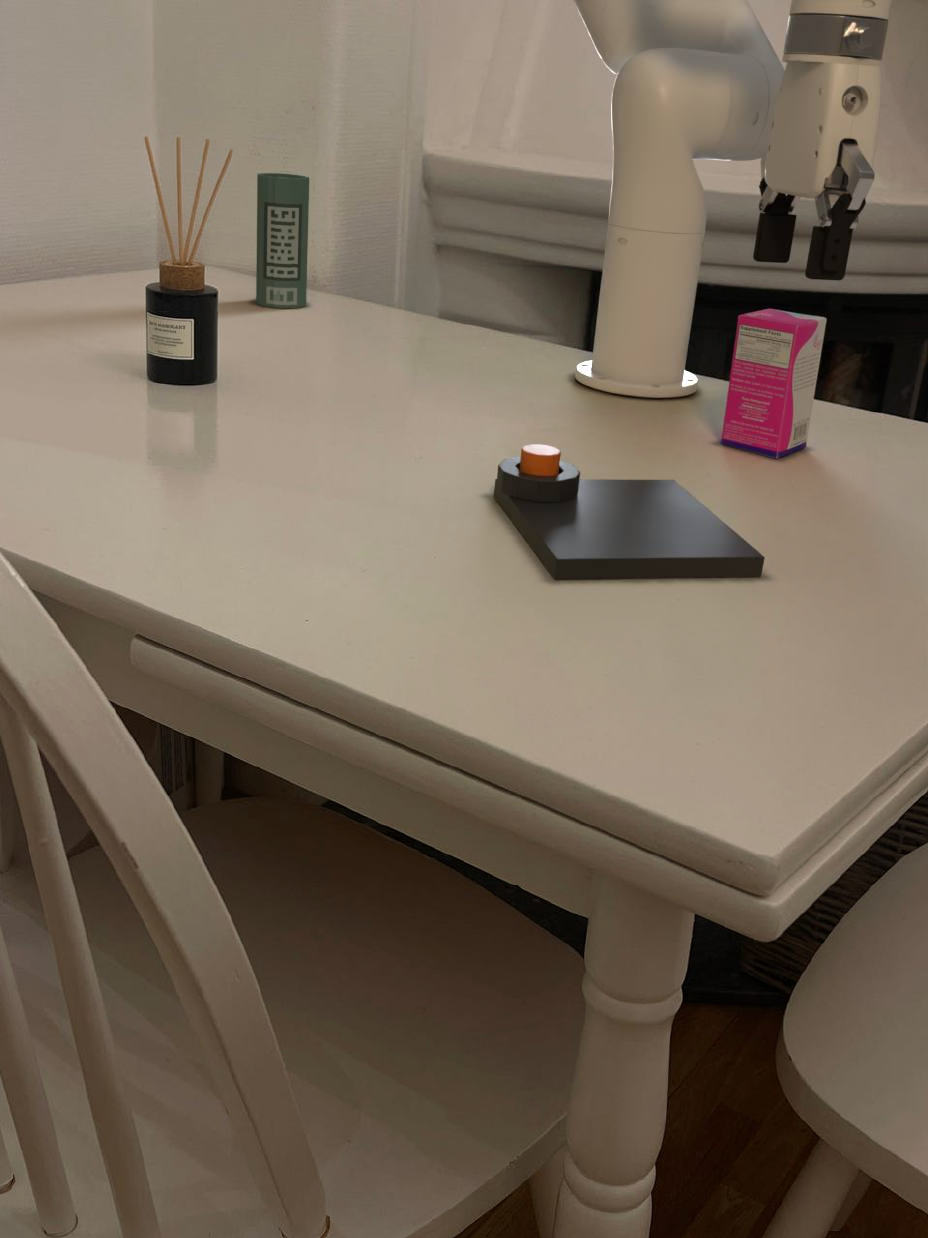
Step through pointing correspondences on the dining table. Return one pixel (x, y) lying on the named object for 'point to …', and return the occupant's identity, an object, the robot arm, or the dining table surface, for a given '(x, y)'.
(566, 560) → the scale
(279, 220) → the can
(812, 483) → the dining table surface
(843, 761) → the dining table surface
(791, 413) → the supplement box
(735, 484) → the dining table surface
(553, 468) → the tare button
